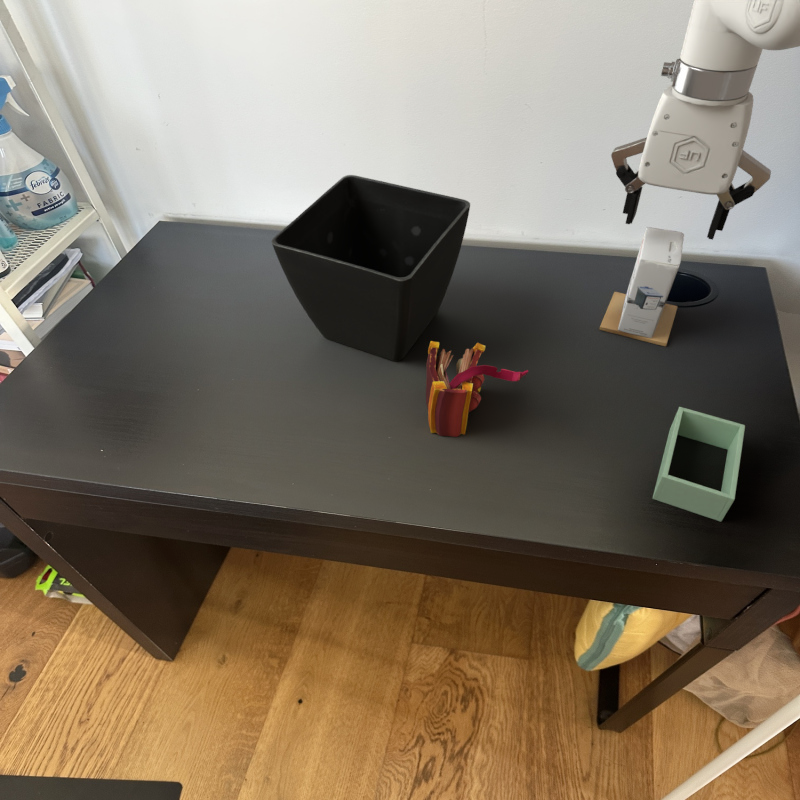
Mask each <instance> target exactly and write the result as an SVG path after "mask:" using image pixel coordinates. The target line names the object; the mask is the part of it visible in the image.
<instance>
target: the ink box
mask: <svg viewBox="0 0 800 800" xmlns="http://www.w3.org/2000/svg"><path fill="white" fill-rule="evenodd" d="M684 237H685V234H684V233H683V232H682V231H677V230H670V229H666V228H665V229H664V228H657V227H651V226H646V228H645V231H644V235H643V238H642V241H641V244H640V247H639V249H638V250H639V251H638V253H637V257H636V260H635V264H634V267H633V270H632V274H631V276H630V280H629V283H628V287H627V290H626V293H625V294H626V297H625V301H624V306H623V310H622V315H621V319H620V323H619V327H618V330H619V331H623V332H626V333H630V334H634V335H638V336H643V337H648V338H652V337H653V335H654V332H655V330H656V327H657V324H658V322H659V319H660V316H661V314H662V311H663V308H664V306H665V303H666V302H667V300H668V298H669V294H670V292H671V290H672V287H673V284H674V281H675V279H676V276H677V273H678V271H679V268H680V265H681V263H682V252H683V245H684V240H685V239H684ZM666 304H667V303H666Z"/></svg>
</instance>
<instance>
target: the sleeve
mask: <svg viewBox="0 0 800 800" xmlns="http://www.w3.org/2000/svg"><path fill="white" fill-rule="evenodd" d="M745 430H746V425H745V424H742V423H739V422H735V421H731V420H729V419H726V418H725V419H724V418H721V417H718V416H714V415H711V414H707V413H704V412H700V411H696V410H693V409H689V408H686V407H682V406H678V409H677V411H676V413H675V416H674V419H673V420H672V423H671V426H670V428H669V431H668V435H667V439H666V444H665V447H664V451H663V455H662V459H661V462H660V467H659V471H658V474H657V478H656V483H655V487H654V490H653V495H652V500H655V501H658V502H661V503H663V504H667V505H670V506H672V507H676V508H679V509H682V510H685V511H688V512H690V513H694V514H697V515H699V516H703V517H706V518H707V519H708V518H709V519H712V520H714V521H717V522H723V520H724V518H725V516H726V514H727V513H728V511H730V508H731V507H732V505H733V503H734V501H735V499H736V491H737V485H738V480H739V479H738V477H739V473H740V472H739V470H740V464H741V459H742V458H741V457H742V452H743V451H742V450H743V444H744V443H743V442H744V438H745V437H744V436H745ZM678 436H680V437H684V438H686V439H690V440H694V441H697V442H701V443H704V444H707V445H711V446H714V447H717V448H719V449H720V448H721V449H725V450H727V453H726V458H725V466H724V470H723V476H722V481H721V482H722V483H721V490H717V489H714V488H711V487H708V486H704V485H702V484H699V483H695V482H692V481H689V480H686V479H683V478H679V477H676V476H674V475H670V474H669V472H670V467H671V463H672V459H673V456H674V451H675V447H676V443H677V438H678Z"/></svg>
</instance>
